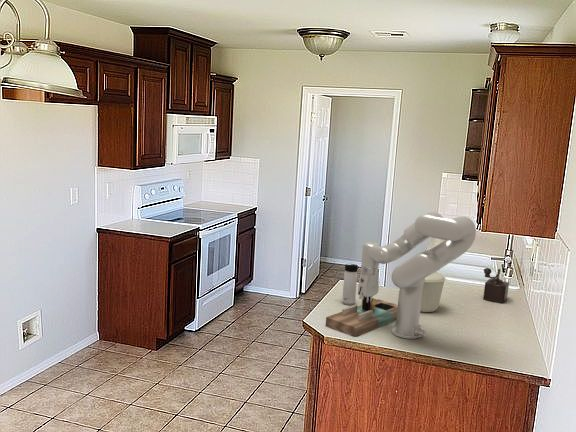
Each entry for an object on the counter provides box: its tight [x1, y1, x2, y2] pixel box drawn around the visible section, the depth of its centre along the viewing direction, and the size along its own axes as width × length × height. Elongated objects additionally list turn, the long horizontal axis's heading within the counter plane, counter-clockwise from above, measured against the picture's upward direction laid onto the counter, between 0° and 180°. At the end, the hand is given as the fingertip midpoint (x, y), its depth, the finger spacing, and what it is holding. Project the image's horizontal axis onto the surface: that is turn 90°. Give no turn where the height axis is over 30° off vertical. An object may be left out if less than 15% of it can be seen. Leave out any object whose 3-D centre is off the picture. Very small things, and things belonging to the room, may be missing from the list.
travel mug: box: [341, 263, 359, 306], centre depth 278 cm, size 6×7×20 cm
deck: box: [325, 298, 398, 338], centre depth 256 cm, size 16×40×7 cm, turn 137°
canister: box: [420, 271, 447, 313], centre depth 275 cm, size 18×18×21 cm
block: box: [360, 297, 377, 310], centre depth 259 cm, size 5×5×5 cm
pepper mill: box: [482, 267, 510, 305], centre depth 295 cm, size 16×11×18 cm
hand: (365, 309), depth 255 cm, fingers closed
